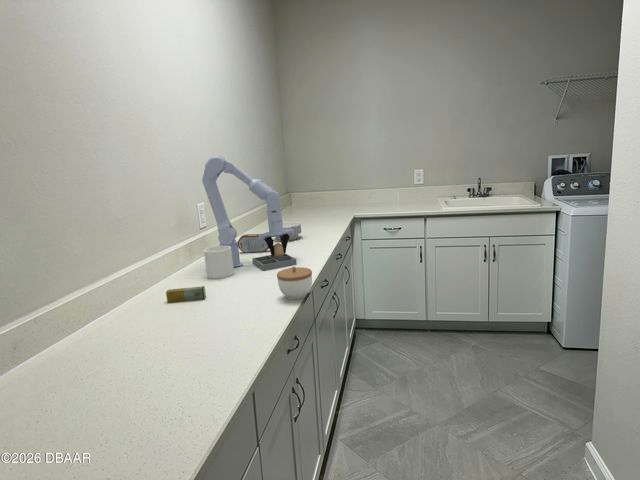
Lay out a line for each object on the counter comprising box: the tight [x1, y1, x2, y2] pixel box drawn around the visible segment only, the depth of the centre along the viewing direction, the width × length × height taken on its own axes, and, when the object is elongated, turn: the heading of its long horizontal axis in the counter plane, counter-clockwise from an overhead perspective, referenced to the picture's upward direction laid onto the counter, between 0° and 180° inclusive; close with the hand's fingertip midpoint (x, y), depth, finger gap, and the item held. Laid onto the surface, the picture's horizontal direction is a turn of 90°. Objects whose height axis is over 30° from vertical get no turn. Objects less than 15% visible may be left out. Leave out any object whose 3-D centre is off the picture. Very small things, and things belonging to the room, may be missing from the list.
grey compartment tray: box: [251, 253, 298, 272], centre depth 171 cm, size 14×14×2 cm
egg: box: [273, 242, 284, 258], centre depth 175 cm, size 4×4×6 cm
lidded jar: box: [276, 266, 313, 301], centre depth 131 cm, size 11×11×9 cm
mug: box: [203, 245, 235, 280], centre depth 162 cm, size 13×10×10 cm
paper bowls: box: [273, 221, 302, 242], centre depth 217 cm, size 15×15×8 cm
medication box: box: [165, 285, 207, 304], centre depth 136 cm, size 12×3×4 cm, turn 93°
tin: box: [237, 233, 270, 254], centre depth 194 cm, size 15×3×8 cm, turn 84°
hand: (278, 253), depth 175 cm, fingers closed on egg, 4 cm apart
